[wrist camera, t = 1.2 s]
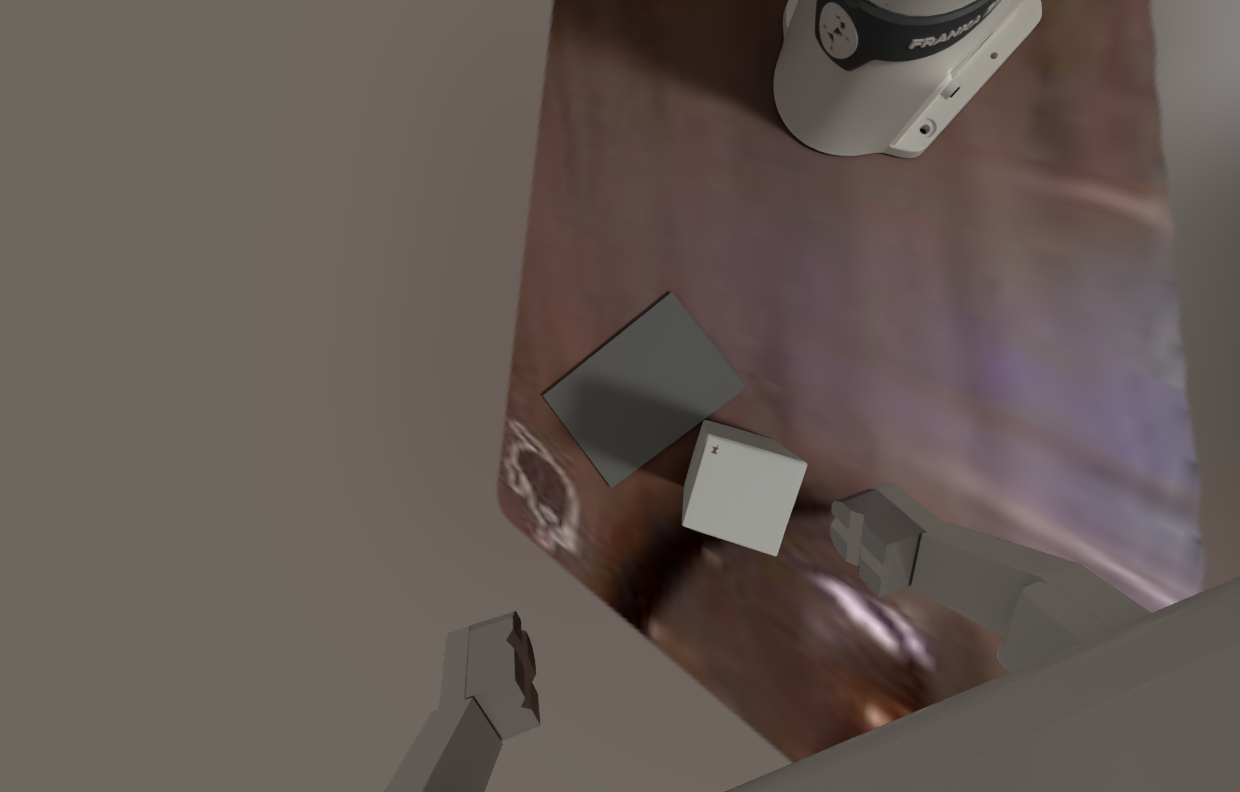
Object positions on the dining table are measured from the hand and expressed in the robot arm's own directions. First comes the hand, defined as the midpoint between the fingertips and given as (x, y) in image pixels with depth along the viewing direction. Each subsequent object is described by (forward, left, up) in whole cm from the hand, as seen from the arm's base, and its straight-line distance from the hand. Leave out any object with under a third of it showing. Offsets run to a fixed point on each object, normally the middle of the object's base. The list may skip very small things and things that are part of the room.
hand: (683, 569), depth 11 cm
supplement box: (-1, +5, -35) cm, 35 cm away
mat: (+2, -6, -35) cm, 35 cm away
